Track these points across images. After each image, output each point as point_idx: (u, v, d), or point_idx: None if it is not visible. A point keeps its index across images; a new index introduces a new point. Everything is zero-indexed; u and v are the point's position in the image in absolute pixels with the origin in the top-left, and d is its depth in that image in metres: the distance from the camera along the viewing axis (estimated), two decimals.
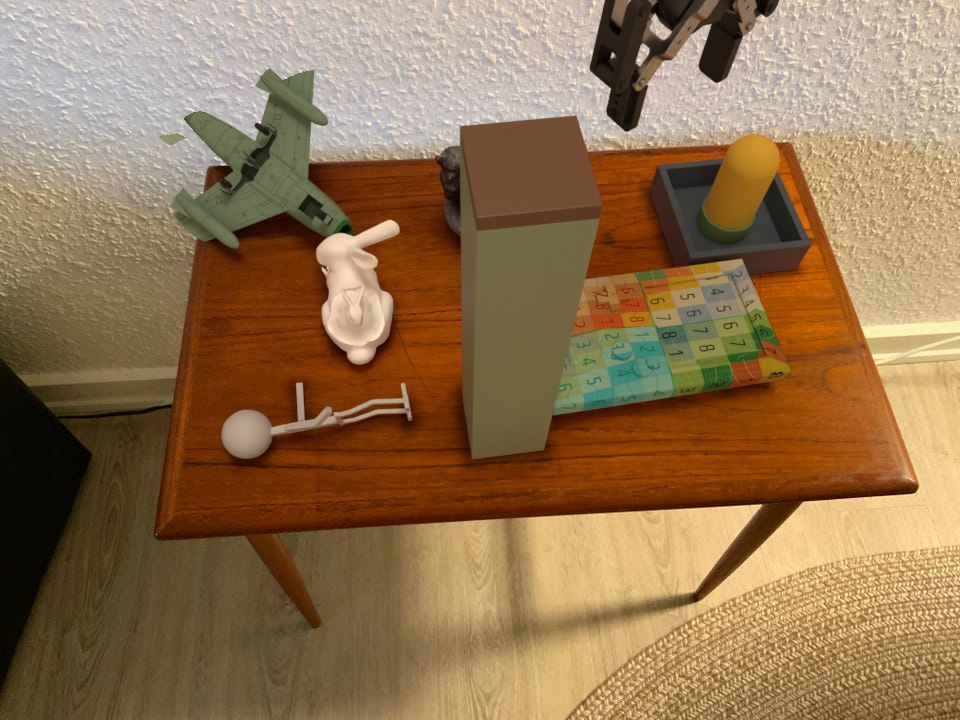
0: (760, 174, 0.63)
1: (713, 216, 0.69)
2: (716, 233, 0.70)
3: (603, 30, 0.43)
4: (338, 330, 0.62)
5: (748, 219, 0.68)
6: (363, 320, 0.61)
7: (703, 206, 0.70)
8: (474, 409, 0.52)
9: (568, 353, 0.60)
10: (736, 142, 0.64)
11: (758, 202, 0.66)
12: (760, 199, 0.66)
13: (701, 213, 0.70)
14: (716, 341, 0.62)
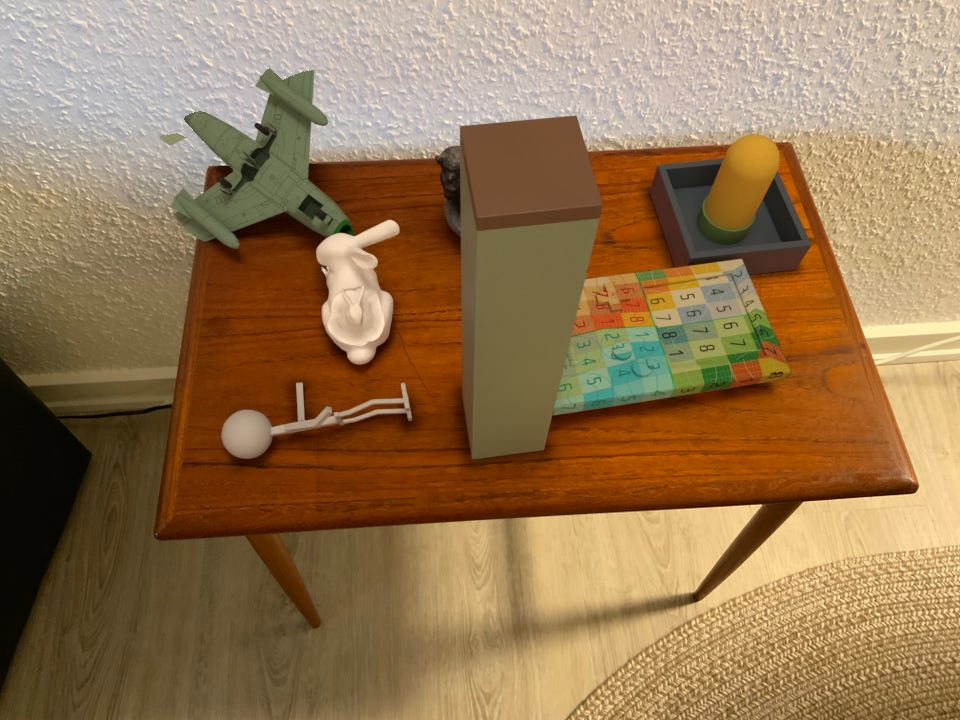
0: (760, 174, 0.63)
1: (713, 216, 0.69)
2: (716, 233, 0.70)
3: None
4: (338, 330, 0.62)
5: (748, 219, 0.68)
6: (363, 320, 0.61)
7: (703, 206, 0.70)
8: (474, 409, 0.52)
9: (568, 353, 0.60)
10: (736, 142, 0.64)
11: (758, 202, 0.66)
12: (760, 199, 0.66)
13: (701, 213, 0.70)
14: (716, 341, 0.62)
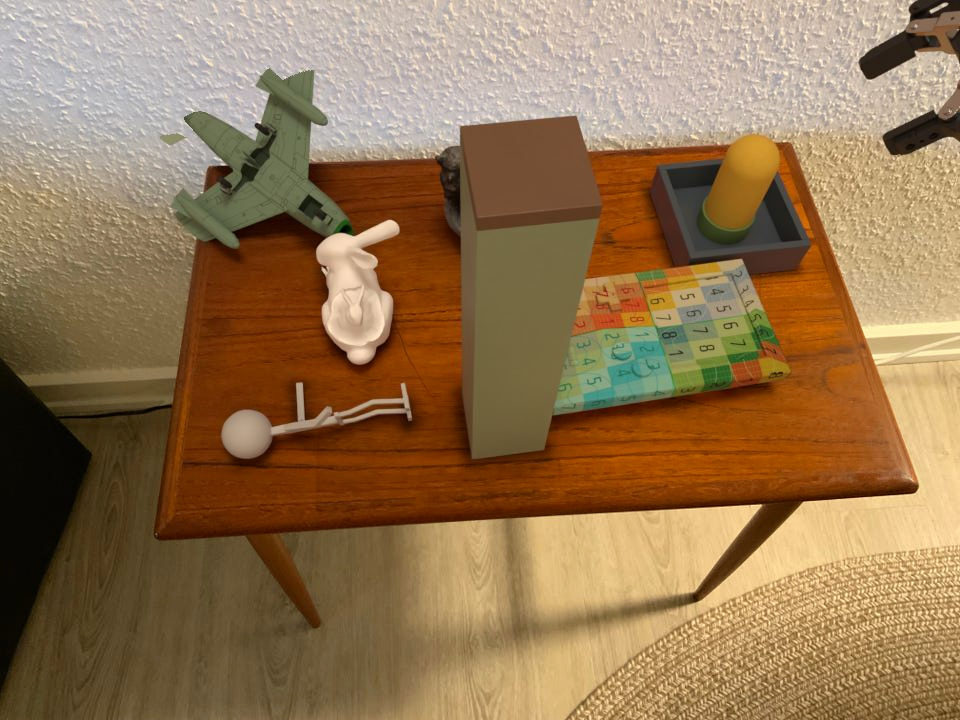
0: (760, 174, 0.63)
1: (713, 216, 0.69)
2: (716, 233, 0.70)
3: None
4: (338, 330, 0.62)
5: (748, 219, 0.68)
6: (363, 320, 0.61)
7: (703, 206, 0.70)
8: (474, 409, 0.52)
9: (568, 353, 0.60)
10: (736, 142, 0.64)
11: (758, 202, 0.66)
12: (760, 199, 0.66)
13: (701, 213, 0.70)
14: (717, 341, 0.62)
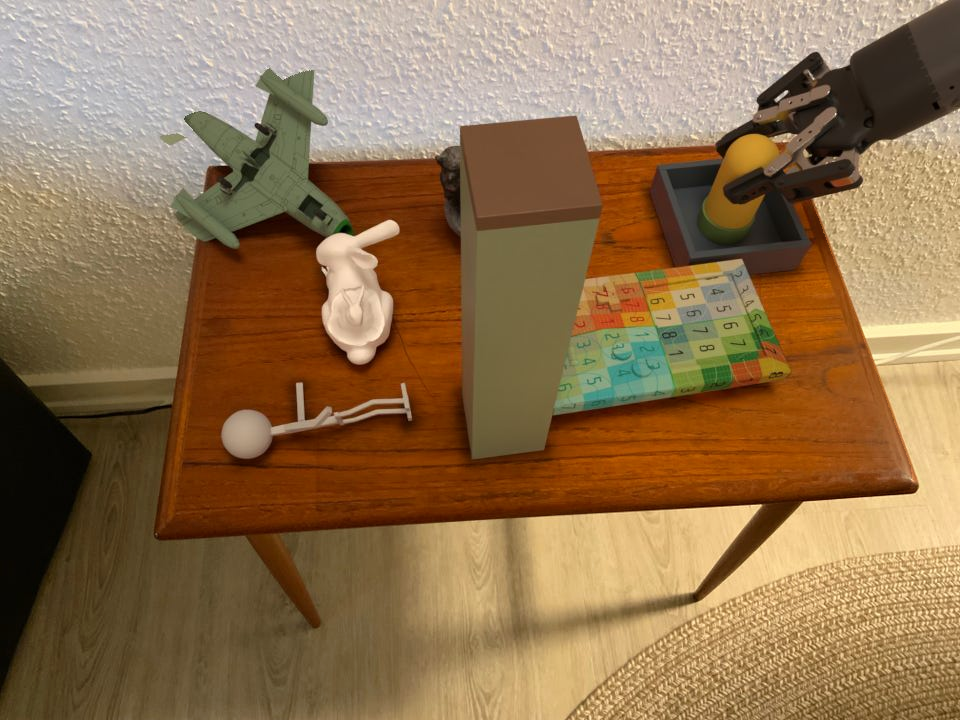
0: None
1: (713, 216, 0.69)
2: (716, 233, 0.70)
3: None
4: (338, 330, 0.62)
5: (748, 219, 0.68)
6: (363, 320, 0.61)
7: (703, 206, 0.70)
8: (474, 409, 0.52)
9: (568, 353, 0.60)
10: (736, 142, 0.64)
11: (758, 202, 0.66)
12: (760, 199, 0.66)
13: (701, 213, 0.70)
14: (717, 341, 0.62)
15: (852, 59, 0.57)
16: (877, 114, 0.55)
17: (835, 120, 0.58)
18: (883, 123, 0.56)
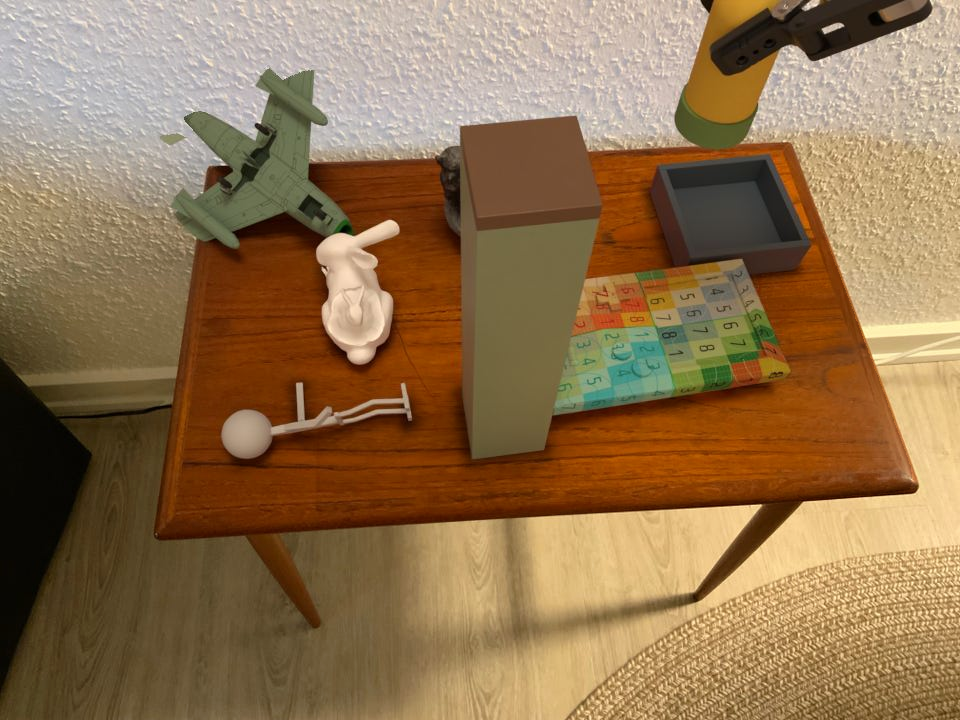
0: None
1: (697, 104, 0.47)
2: (701, 131, 0.48)
3: None
4: (338, 330, 0.62)
5: (748, 107, 0.46)
6: (363, 320, 0.61)
7: (683, 93, 0.48)
8: (474, 409, 0.52)
9: (568, 353, 0.60)
10: None
11: (763, 77, 0.45)
12: (766, 71, 0.44)
13: (680, 104, 0.49)
14: (716, 341, 0.62)
15: None
16: None
17: None
18: None
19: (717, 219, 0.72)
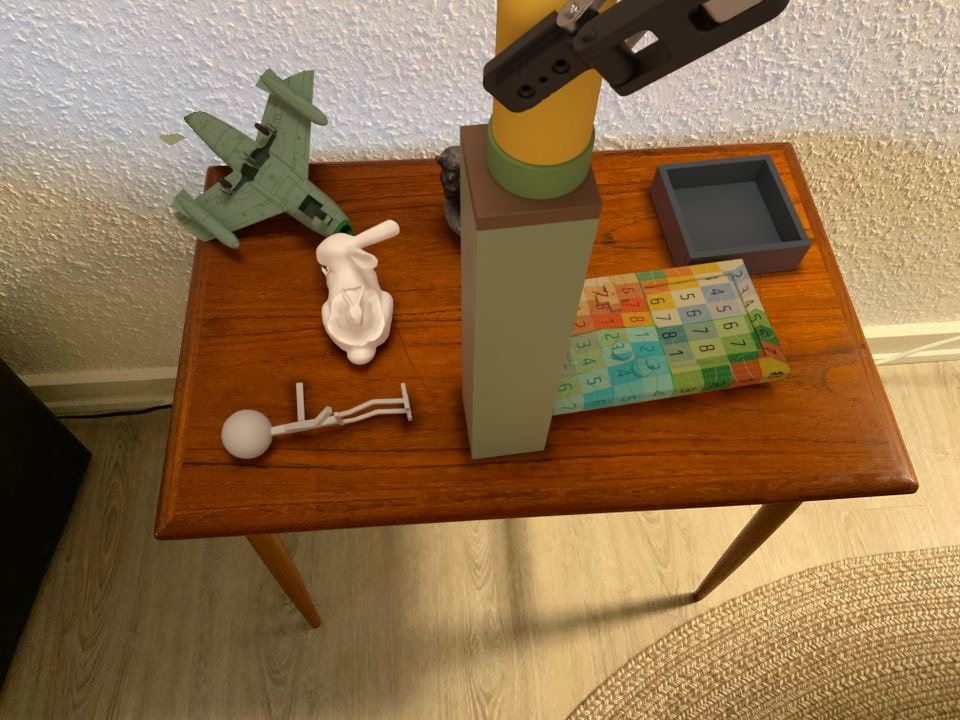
0: None
1: (502, 139, 0.33)
2: (514, 176, 0.34)
3: None
4: (338, 330, 0.62)
5: (572, 143, 0.32)
6: (363, 320, 0.61)
7: (490, 122, 0.34)
8: (474, 409, 0.52)
9: (568, 353, 0.60)
10: None
11: (583, 101, 0.30)
12: (586, 94, 0.30)
13: (487, 136, 0.34)
14: (717, 341, 0.62)
15: None
16: None
17: None
18: None
19: (717, 219, 0.72)
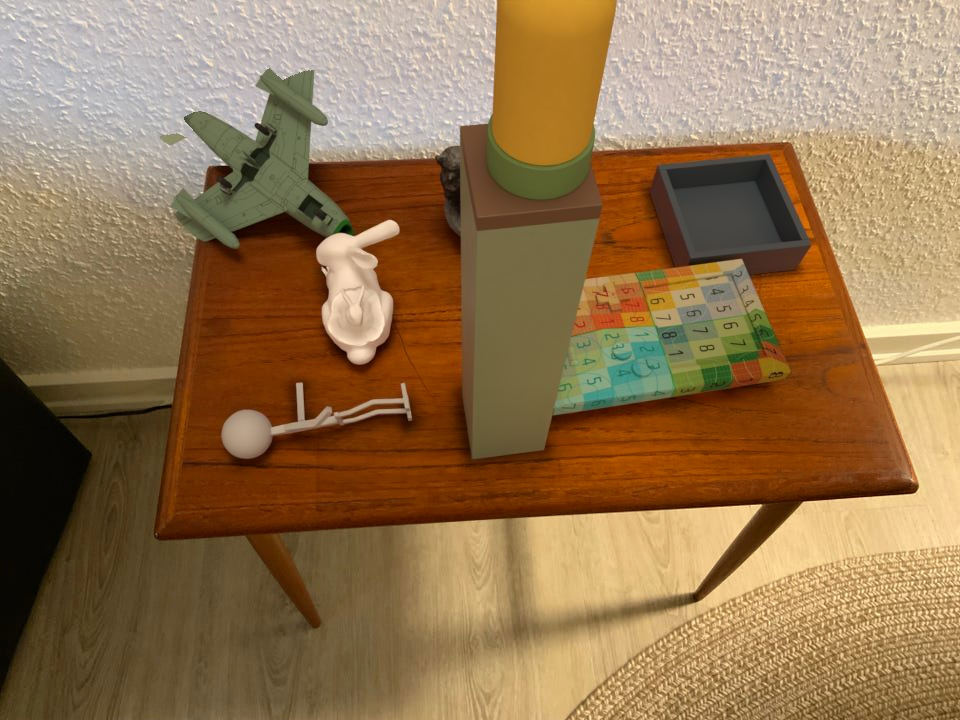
0: (564, 23, 0.27)
1: (502, 139, 0.33)
2: (514, 176, 0.34)
3: None
4: (338, 330, 0.62)
5: (572, 143, 0.32)
6: (363, 320, 0.61)
7: (490, 122, 0.34)
8: (474, 409, 0.52)
9: (568, 353, 0.60)
10: None
11: (583, 101, 0.30)
12: (586, 94, 0.30)
13: (487, 136, 0.34)
14: (716, 341, 0.62)
15: None
16: None
17: None
18: None
19: (717, 219, 0.72)
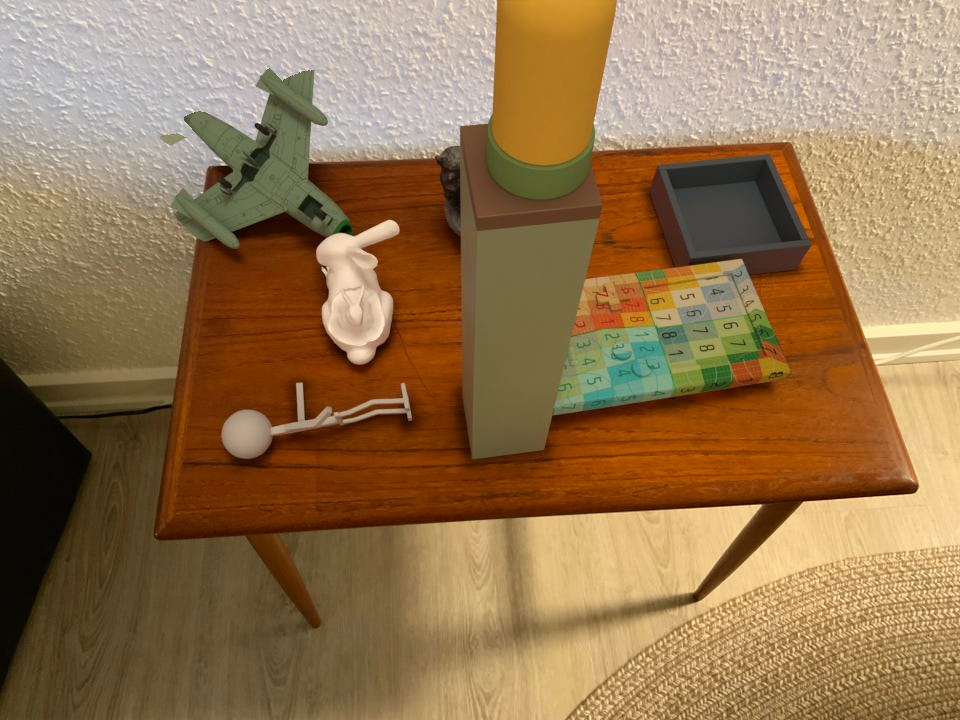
0: (564, 23, 0.27)
1: (502, 139, 0.33)
2: (514, 176, 0.34)
3: None
4: (338, 330, 0.62)
5: (572, 143, 0.32)
6: (363, 320, 0.61)
7: (490, 122, 0.34)
8: (474, 409, 0.52)
9: (568, 353, 0.60)
10: None
11: (583, 101, 0.30)
12: (586, 94, 0.30)
13: (487, 136, 0.34)
14: (716, 341, 0.62)
15: None
16: None
17: None
18: None
19: (717, 219, 0.72)
